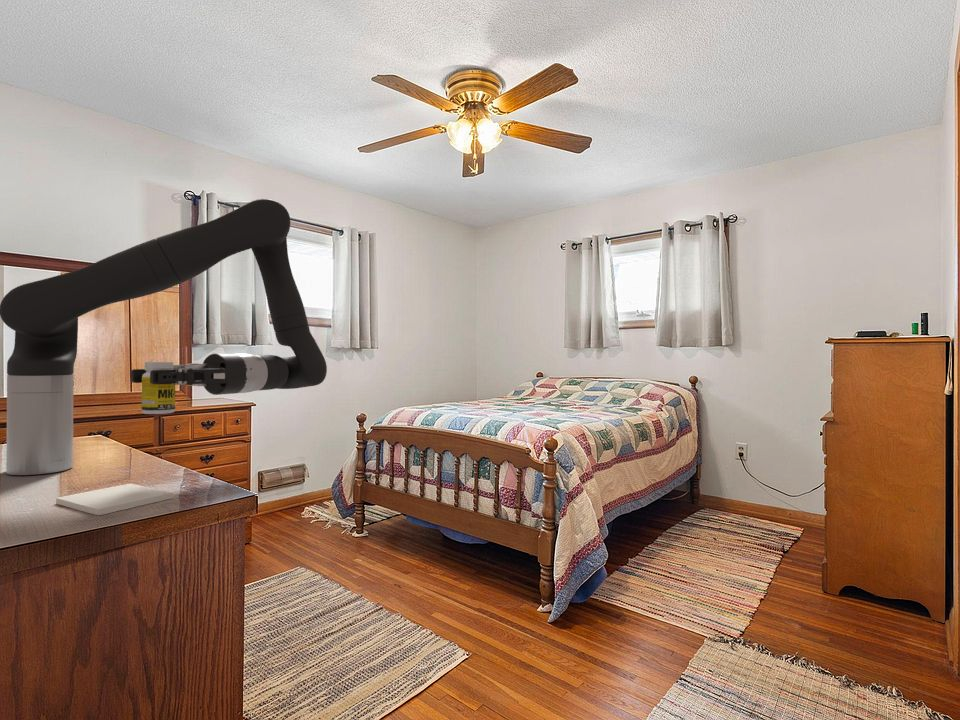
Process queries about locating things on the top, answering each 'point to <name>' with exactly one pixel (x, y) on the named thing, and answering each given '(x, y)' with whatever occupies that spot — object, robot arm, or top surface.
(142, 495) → the mat
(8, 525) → the top surface
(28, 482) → the top surface
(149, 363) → the supplement bottle
